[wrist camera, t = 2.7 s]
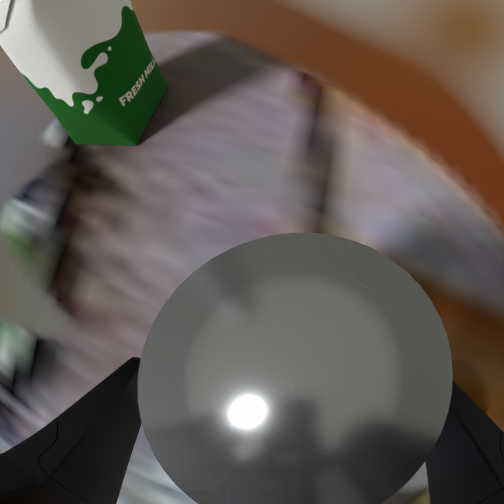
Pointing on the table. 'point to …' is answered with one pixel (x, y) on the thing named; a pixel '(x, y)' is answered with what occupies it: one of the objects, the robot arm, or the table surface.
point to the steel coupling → (295, 375)
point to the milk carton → (85, 65)
